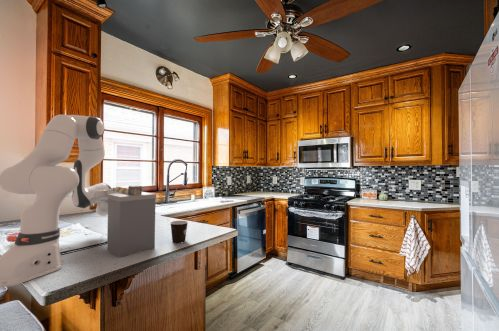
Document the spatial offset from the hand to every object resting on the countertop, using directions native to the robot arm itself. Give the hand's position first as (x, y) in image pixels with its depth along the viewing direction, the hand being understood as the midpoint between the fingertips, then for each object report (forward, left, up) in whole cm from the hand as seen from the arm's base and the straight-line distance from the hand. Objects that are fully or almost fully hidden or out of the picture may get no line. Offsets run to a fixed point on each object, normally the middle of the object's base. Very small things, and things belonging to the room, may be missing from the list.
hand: (121, 188), depth 122 cm
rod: (-3, -6, -2) cm, 7 cm away
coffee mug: (+8, -26, -28) cm, 39 cm away
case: (-6, -11, -28) cm, 30 cm away
